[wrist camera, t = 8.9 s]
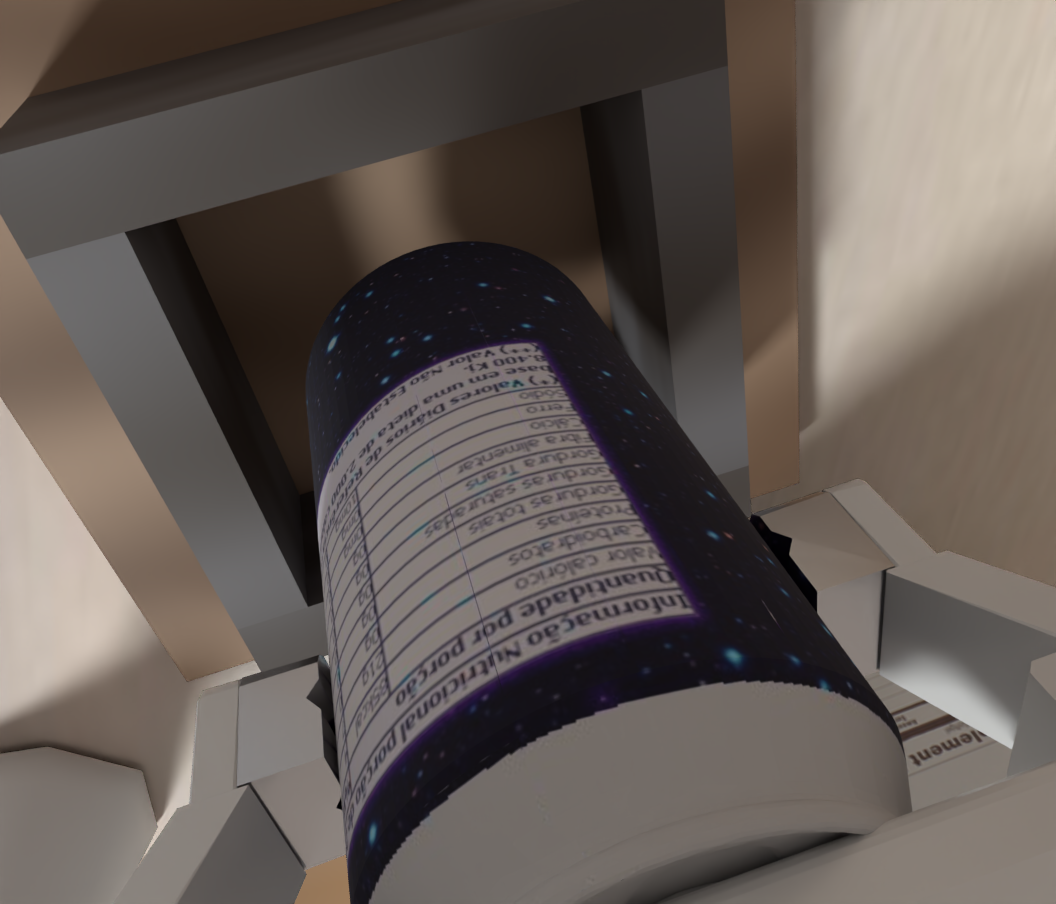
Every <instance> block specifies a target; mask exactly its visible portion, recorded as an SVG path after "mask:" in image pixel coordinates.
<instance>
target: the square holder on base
mask: <svg viewBox="0 0 1056 904" xmlns="http://www.w3.org/2000/svg"><path fill="white" fill-rule="evenodd" d="M462 241H480V242H490V243H497V244H502V245H507V246H510V247H514V248H518V249H520V250H523V251H526V252H529V253H531V254H533V255H535V256H538V257H540V258H541V259H543V260H545V261H547V262H549V263H550V264H552V265H553V266H554V267H556V268H557V269H559V270H560V271H561V272H562V273H564V274H565V275H566V276H567V277H568V278H569V279H570V280H571V281H572V282H573V283H574V284H575V285H576V286H577V287H578V288H579V289H580V290H581V292H582V293H583V294H584V296H585V297H586V298H587V300H588V301H589V303H590V304H591V305H592V307H593V308H594V309H595V311H596V312H597V313H598V315H599V316H600V318H601V319H602V320H603V322H604V323H605V324H606V326H607V327H608V328H609V330H610V331H611V333H612V334H613V335H614V337H615V338H616V339H617V341H618V342H619V343H620V345H621V346H622V348H623V349H624V350H625V352H626V353H627V354H628V356H629V357H630V358H631V360H632V361H633V363H634V364H635V365H636V367H637V368H638V369H639V371H640V372H641V373H642V375H643V376H644V378H645V379H646V380H647V382H648V383H649V384H650V386H651V387H652V388H653V390H654V391H655V393H656V394H657V395H658V397H659V398H660V399H661V401H662V402H663V403H664V405H665V406H666V408H667V409H668V410H669V412H670V413H671V414H672V416H673V417H674V418H675V420H676V421H677V423H678V424H679V425H680V427H681V428H682V429H683V431H684V432H685V433H686V435H687V436H688V438H689V439H690V440H691V442H692V443H693V444H694V446H695V447H696V448H697V450H698V451H699V453H700V454H701V455H702V457H703V458H704V459H705V461H706V462H707V463H708V465H709V466H710V468H711V469H712V470H713V472H714V473H715V474H716V476H717V477H718V478H719V480H720V481H721V483H722V484H723V485H724V487H725V488H726V489H727V491H728V492H729V494H730V495H731V496H732V498H733V499H734V500H735V502H736V503H737V504H738V506H739V507H740V509H741V510H742V511H743V513H744V514H745V515H746V517H751V498H754V497H757V496H760V495H763V494H767V493H770V492H773V491H776V490H779V489H782V488H785V487H788V486H791V485H794V484H797V483H799V385H798V270H797V154H796V39H795V0H0V397H1V399H2V400H3V402H4V403H5V405H6V406H7V408H8V409H9V411H10V412H11V414H12V415H13V417H14V418H15V420H16V421H17V423H18V425H19V426H20V428H21V429H22V431H23V432H24V434H25V435H26V437H27V438H28V440H29V441H30V443H31V444H32V446H33V447H34V449H35V450H36V452H37V454H38V455H39V457H40V458H41V460H42V461H43V463H44V464H45V466H46V467H47V469H48V470H49V472H50V473H51V475H52V476H53V478H54V479H55V481H56V483H57V484H58V486H59V487H60V489H61V490H62V492H63V493H64V495H65V496H66V498H67V499H68V501H69V502H70V504H71V505H72V507H73V508H74V510H75V512H76V513H77V515H78V516H79V518H80V519H81V521H82V522H83V524H84V525H85V527H86V528H87V530H88V531H89V533H90V534H91V536H92V537H93V539H94V541H95V542H96V544H97V545H98V547H99V548H100V550H101V551H102V553H103V554H104V556H105V557H106V559H107V560H108V562H109V563H110V565H111V566H112V568H113V570H114V571H115V573H116V574H117V576H118V577H119V579H120V580H121V582H122V583H123V585H124V586H125V588H126V589H127V591H128V592H129V594H130V595H131V597H132V599H133V600H134V602H135V603H136V605H137V606H138V608H139V609H140V611H141V612H142V614H143V615H144V617H145V618H146V620H147V621H148V623H149V624H150V626H151V628H152V629H153V631H154V632H155V634H156V635H157V637H158V638H159V640H160V641H161V643H162V644H163V646H164V647H165V649H166V650H167V652H168V653H169V655H170V657H171V658H172V660H173V661H174V663H175V664H176V666H177V667H178V669H179V670H180V672H181V673H182V675H183V676H184V678H185V679H186V681H187V682H189V681H192V680H195V679H198V678H201V677H204V676H207V675H210V674H213V673H216V672H219V671H222V670H225V669H229V668H232V667H235V666H238V665H241V664H244V663H247V662H250V661H253V660H255V661H256V663H257V665H258V667H259V668H260V670H261V672H264V671H267V670H270V669H274V668H277V667H280V666H284V665H287V664H290V663H294V662H297V661H300V660H304V659H307V658H310V657H314V656H317V655H321V656H326V655H329V654H328V643H327V631H326V620H325V609H324V597H323V586H322V575H321V564H320V552H319V541H318V530H317V518H316V507H315V496H314V484H313V473H312V462H311V450H310V439H309V428H308V416H307V405H306V387H305V385H306V373H307V366H308V361H309V357H310V353H311V350H312V347H313V344H314V342H315V339H316V337H317V335H318V333H319V330H320V329H321V327H322V325H323V323H324V321H325V320H326V318H327V317H328V315H329V314H330V312H331V311H332V309H333V308H334V307H335V305H336V304H337V303H338V302H339V300H340V299H341V298H342V297H343V296H344V295H345V294H346V293H347V292H348V291H349V290H350V289H351V288H352V287H353V286H354V285H355V284H356V283H358V282H359V281H360V280H361V279H363V278H364V277H365V276H366V275H368V274H369V273H371V272H372V271H374V270H375V269H377V268H378V267H380V266H382V265H383V264H385V263H387V262H389V261H390V260H393V259H395V258H397V257H399V256H401V255H403V254H406V253H409V252H411V251H414V250H417V249H421V248H424V247H428V246H432V245H437V244H442V243H450V242H462Z"/></svg>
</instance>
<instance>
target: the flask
mask: <svg viewBox="0 0 1056 904" xmlns="http://www.w3.org/2000/svg"><path fill="white" fill-rule="evenodd" d="M157 828H158V826H157V823H156V819H155V815H154V812H153V808H152V804H151V801H150V797H149V793H148V790H147V786H146V783H145V779H144V775H143V772H142V771H141V770H137V769H133V768H129V767H125V766H121V765H117V764H113V763H110V762H106V761H102V760H98V759H94V758H90V757H86V756H82V755H78V754H74V753H70V752H67V751H63V750H59V749H55V748H51V747H42V748H35V749H29V750H22V751H15V752H9V753H2V754H0V904H113V903H114V901H115V900H116V898H117V897H118V895H119V894H120V892H121V891H122V889H123V888H124V887H125V885H126V884H127V882H128V881H129V879H130V878H131V876H132V875H133V873H134V872H135V870H136V869H137V867H138V865H139V863H140V861H141V859H142V857H143V856H144V854H145V852H146V850H147V848H148V846H149V844H150V842H151V840H152V838H153V836H154V834H155V832H156V830H157Z"/></svg>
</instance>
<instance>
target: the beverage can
mask: <svg viewBox="0 0 1056 904" xmlns="http://www.w3.org/2000/svg"><path fill="white" fill-rule="evenodd" d="M305 387H306V405H307V416H308V428H309V439H310V450H311V462H312V473H313V484H314V496H315V507H316V518H317V530H318V541H319V552H320V564H321V575H322V586H323V597H324V609H325V620H326V631H327V643H328V654H329V665H330V677H331V688H332V699H333V711H334V722H335V733H336V745H337V756H338V767H339V779H340V790H341V801H342V813H343V824H344V835H345V847H346V858H347V868H348V880H349V892H350V903H351V904H660V903H662V902H665V901H668V900H671V899H673V898H676V897H679V896H682V895H684V894H687V893H690V892H693V891H695V890H698V889H701V888H704V887H706V886H709V885H712V884H715V883H717V882H720V881H723V880H726V879H728V878H731V877H734V876H737V875H739V874H742V873H745V872H748V871H750V870H753V869H756V868H759V867H761V866H764V865H767V864H770V863H772V862H775V861H778V860H781V859H783V858H786V857H789V856H792V855H794V854H797V853H800V852H803V851H806V850H808V849H811V848H814V847H817V846H819V845H822V844H825V843H828V842H830V841H833V840H836V839H839V838H841V837H844V836H847V835H850V834H860V835H866V834H870V833H872V832H874V831H875V830H876V829H877V828H879V827H880V826H881V825H882V824H883V823H885V822H886V821H888V820H891V819H894V818H896V817H899V816H902V815H905V814H907V813H910V812H913V811H912V803H911V795H910V787H909V780H908V772H907V764H906V758H905V752H904V747H903V742H902V738H901V735H900V732H899V729H898V726H897V724H896V722H895V720H894V718H893V716H892V715H891V713H890V712H889V711H888V709H887V708H886V706H885V705H884V704H883V702H882V701H881V699H880V698H879V697H878V695H877V694H876V693H875V691H874V690H873V689H872V687H871V686H870V684H869V683H868V682H867V680H866V679H865V678H864V676H863V675H862V674H861V672H860V671H859V669H858V668H857V667H856V665H855V664H854V663H853V661H852V660H851V659H850V657H849V656H848V654H847V653H846V652H845V650H844V649H843V648H842V646H841V645H840V644H839V642H838V641H837V639H836V638H835V637H834V635H833V634H832V633H831V631H830V630H829V629H828V627H827V626H826V624H825V623H824V622H823V620H822V619H821V618H820V616H819V615H818V614H817V612H816V611H815V609H814V608H813V607H812V605H811V604H810V603H809V601H808V600H807V599H806V597H805V596H804V594H803V593H802V592H801V590H800V589H799V588H798V586H797V585H796V584H795V582H794V581H793V579H792V578H791V577H790V575H789V574H788V573H787V571H786V570H785V569H784V567H783V566H782V564H781V563H780V562H779V560H778V559H777V558H776V556H775V555H774V554H773V552H772V551H771V549H770V548H769V547H768V545H767V544H766V543H765V541H764V540H763V539H762V537H761V536H760V534H759V533H758V532H757V530H756V529H755V528H754V526H753V525H752V524H751V522H750V521H749V519H748V518H747V517H746V515H745V514H744V513H743V511H742V510H741V509H740V507H739V506H738V504H737V503H736V502H735V500H734V499H733V498H732V496H731V495H730V494H729V492H728V491H727V489H726V488H725V487H724V485H723V484H722V483H721V481H720V480H719V478H718V477H717V476H716V474H715V473H714V472H713V470H712V469H711V468H710V466H709V465H708V463H707V462H706V461H705V459H704V458H703V457H702V455H701V454H700V453H699V451H698V450H697V448H696V447H695V446H694V444H693V443H692V442H691V440H690V439H689V438H688V436H687V435H686V433H685V432H684V431H683V429H682V428H681V427H680V425H679V424H678V423H677V421H676V420H675V418H674V417H673V416H672V414H671V413H670V412H669V410H668V409H667V408H666V406H665V405H664V403H663V402H662V401H661V399H660V398H659V397H658V395H657V394H656V393H655V391H654V390H653V388H652V387H651V386H650V384H649V383H648V382H647V380H646V379H645V378H644V376H643V375H642V373H641V372H640V371H639V369H638V368H637V367H636V365H635V364H634V363H633V361H632V360H631V358H630V357H629V356H628V354H627V353H626V352H625V350H624V349H623V348H622V346H621V345H620V343H619V342H618V341H617V339H616V338H615V337H614V335H613V334H612V333H611V331H610V330H609V328H608V327H607V326H606V324H605V323H604V322H603V320H602V319H601V318H600V316H599V315H598V313H597V312H596V311H595V309H594V308H593V307H592V305H591V304H590V303H589V301H588V300H587V298H586V297H585V296H584V294H583V293H582V292H581V290H580V289H579V288H578V287H577V286H576V285H575V284H574V283H573V282H572V281H571V280H570V279H569V278H568V277H567V276H566V275H565V274H564V273H562V272H561V271H560V270H559V269H557V268H556V267H554V266H553V265H552V264H550V263H549V262H547V261H545V260H543V259H541V258H540V257H538V256H535V255H533V254H531V253H529V252H526V251H523V250H520V249H518V248H514V247H510V246H507V245H502V244H497V243H490V242H480V241H462V242H450V243H442V244H437V245H432V246H428V247H424V248H421V249H417V250H414V251H411V252H409V253H406V254H403V255H401V256H399V257H397V258H395V259H393V260H390V261H389V262H387V263H385V264H383V265H382V266H380V267H378V268H377V269H375V270H374V271H372V272H371V273H369V274H368V275H366V276H365V277H364V278H363V279H361V280H360V281H359V282H358V283H356V284H355V285H354V286H353V287H352V288H351V289H350V290H349V291H348V292H347V293H346V294H345V295H344V296H343V297H342V298H341V299H340V300H339V302H338V303H337V304H336V305H335V307H334V308H333V309H332V311H331V312H330V314H329V315H328V317H327V318H326V320H325V321H324V323H323V325H322V327H321V329H320V330H319V333H318V335H317V337H316V339H315V342H314V344H313V347H312V350H311V353H310V357H309V361H308V366H307V373H306V385H305Z"/></svg>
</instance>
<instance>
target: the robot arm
mask: <svg viewBox="0 0 1056 904" xmlns="http://www.w3.org/2000/svg"><path fill="white" fill-rule="evenodd" d="M750 522H751V524H752V525H753V526H754V528H755V529H756V530H757V532H758V533H759V534H760V536H761V537H762V539H763V540H764V541H765V543H766V544H767V545H768V547H769V548H770V549H771V551H772V552H773V554H774V555H775V556H776V558H777V559H778V560H779V562H780V563H781V564H782V566H783V567H784V569H785V570H786V571H787V573H788V574H789V575H790V577H791V578H792V579H793V581H794V582H795V584H796V585H797V586H798V588H799V589H800V590H801V592H802V593H803V594H804V596H805V597H806V599H807V600H808V601H809V603H810V604H811V605H812V607H813V608H814V609H815V611H816V612H817V614H818V615H819V616H820V618H821V619H822V620H823V622H824V623H825V624H826V626H827V627H828V629H829V630H830V631H831V633H832V634H833V635H834V637H835V638H836V639H837V641H838V642H839V644H840V645H841V646H842V648H843V649H844V650H845V652H846V653H847V654H848V656H849V657H850V659H851V660H852V661H853V663H854V664H855V665H856V667H857V668H858V669H859V671H860V672H861V674H862V675H863V676H866V675H869V674H872V673H876V672H879V671H880V673H879V675H881V676H883V677H884V678H886V679H888V680H890V681H892V682H893V683H895V684H897V685H899V686H900V687H902V688H904V689H906V690H907V691H909V692H911V693H913V694H915V695H916V696H918V697H920V698H922V699H923V700H925V701H927V702H929V703H930V704H932V705H934V706H936V707H938V708H939V709H941V710H943V711H945V712H946V713H948V714H950V715H952V716H953V717H955V718H957V719H959V720H961V721H962V722H964V723H966V724H968V725H969V726H971V727H973V728H975V729H976V730H978V731H980V732H982V733H984V734H985V735H987V736H989V737H991V738H992V739H994V740H996V741H998V742H1000V743H1001V744H1003V745H1005V746H1007V747H1008V748H1010V749H1012V752H1011V757H1010V761H1009V766H1008V770H1007V775H1006V778H1004V779H1001V780H998V781H995V782H993V783H990V784H987V785H984V786H982V787H979V788H976V789H973V790H971V791H968V792H965V793H962V794H960V795H957V796H954V797H951V798H949V799H946V800H943V801H940V802H938V803H935V804H932V805H929V806H927V807H924V808H921V809H918V810H916V811H913V812H910V813H907V814H905V815H902V816H899V817H896V818H894V819H891V820H888V821H886V822H885V823H883V824H882V825H881V826H880V827H879V828H877V829H876V830H875V831H874V832H872V833H870V834H866V835H860V834H850V835H847V836H844V837H841V838H839V839H836V840H833V841H830V842H828V843H825V844H822V845H819V846H817V847H814V848H811V849H808V850H806V851H803V852H800V853H797V854H794V855H792V856H789V857H786V858H783V859H781V860H778V861H775V862H772V863H770V864H767V865H764V866H761V867H759V868H756V869H753V870H750V871H748V872H745V873H742V874H739V875H737V876H734V877H731V878H728V879H726V880H723V881H720V882H717V883H715V884H712V885H709V886H706V887H704V888H701V889H698V890H695V891H693V892H690V893H687V894H684V895H682V896H679V897H676V898H673V899H671V900H668V901H665V902H662V903H660V904H1056V587H1054V586H1051V585H1048V584H1045V583H1042V582H1039V581H1036V580H1033V579H1030V578H1027V577H1024V576H1021V575H1018V574H1016V573H1013V572H1010V571H1007V570H1004V569H1001V568H998V567H995V566H992V565H989V564H986V563H983V562H980V561H977V560H974V559H971V558H968V557H965V556H962V555H960V554H957V553H954V552H951V551H948V550H947V551H944V552H941V553H936V552H935V551H934V550H933V549H932V548H931V547H930V546H929V545H928V544H927V543H926V542H925V541H924V540H923V539H922V538H921V537H920V536H919V535H918V534H917V533H916V532H915V531H914V530H913V529H912V528H911V527H910V526H909V525H908V524H907V523H906V522H905V521H904V520H903V519H902V518H901V517H900V516H899V515H898V514H897V513H896V512H895V511H894V510H893V509H892V508H891V507H890V506H889V505H888V504H887V503H886V502H885V501H884V499H883V498H882V497H881V496H880V495H879V494H878V493H877V492H876V491H875V490H874V489H873V488H872V487H871V486H870V485H869V484H868V483H867V482H866V481H863V480H861V479H858V478H857V479H855V480H852V481H849V482H846V483H843V484H840V485H837V486H834V487H831V488H828V489H825V490H823V491H822V492H816V493H813V494H810V495H807V496H804V497H801V498H798V499H795V500H792V501H789V502H786V503H783V504H780V505H777V506H774V507H772V508H769V509H766V510H763V511H760V512H757V513H754V514H751V518H750ZM344 855H346V847H345V835H344V824H343V813H342V801H341V790H340V779H339V767H338V756H337V745H336V733H335V722H334V711H333V699H332V688H331V677H330V667H329V665H328V663H327V662H326V660H325V658H324V656H321V655H317V656H314V657H310V658H307V659H304V660H300V661H297V662H294V663H290V664H287V665H284V666H280V667H277V668H274V669H270V670H267V671H264V672H260V673H257V674H254V675H250V676H247V677H243V678H242V679H240V680H237V681H233V682H230V683H226V684H223V685H220V686H216V687H213V688H209V689H206V690H202V693H201V695H200V697H199V699H198V701H197V709H196V722H195V735H194V748H193V762H192V775H191V788H190V802H189V804H188V805H186V806H183V807H180V808H177V810H176V811H175V813H174V814H173V816H172V817H171V818H170V820H169V821H168V823H167V824H166V826H165V827H164V829H163V830H162V832H161V833H160V835H159V836H158V838H157V839H156V841H155V842H154V844H153V845H152V847H151V848H150V850H149V851H148V853H147V854H146V855H145V857H144V858H143V860H142V861H141V863H140V864H139V866H138V867H137V869H136V870H135V872H134V873H133V875H132V876H131V878H130V879H129V881H128V882H127V884H126V885H125V887H124V888H123V889H122V891H121V892H120V894H119V895H118V897H117V898H116V900H115V901H114V903H113V904H294V903H295V900H296V898H297V895H298V893H299V891H300V888H301V886H302V884H303V881H304V879H305V877H306V872H305V871H304V870H306V869H309V868H311V867H314V866H317V865H319V864H322V863H325V862H328V861H330V860H333V859H336V858H338V857H341V856H344Z"/></svg>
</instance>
